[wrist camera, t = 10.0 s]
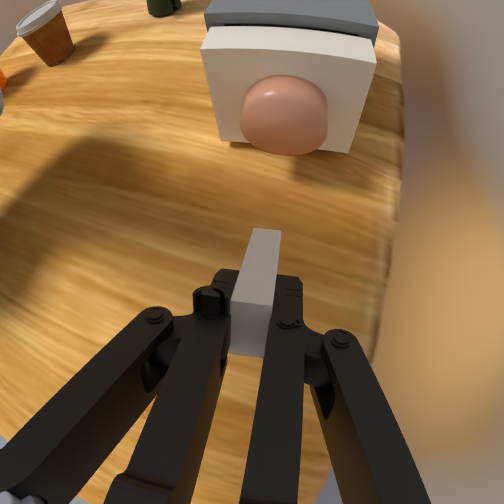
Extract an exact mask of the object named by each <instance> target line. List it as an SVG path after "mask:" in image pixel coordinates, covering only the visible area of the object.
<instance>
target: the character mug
mask: <svg viewBox="0 0 504 504" xmlns="http://www.w3.org/2000/svg"><path fill="white" fill-rule="evenodd" d="M175 5H176V6H177V9H179V8H180V7H181V6H182V5H181V1H180V0H147V6H148V11H149V14H151V15H155V16H161V15H166V14H169V13H172V12H174V10H173V7H174V6H175Z"/></svg>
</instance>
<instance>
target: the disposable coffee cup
mask: <svg viewBox="0 0 504 504" xmlns="http://www.w3.org/2000/svg"><path fill="white" fill-rule="evenodd" d="M61 5H62V4H61V3H59V2H58V1H57V0H51V1H49V2H47V3H45V4H43V5H41V6H39V7H38V8H36V9H35V10H33V11H32V12H31V13H29V14H28V15H27V16H26V17H25V18H23V19H22V20H21V21H20V22H19V24H18V25H17V27H16V29H17V35H18V36H20V37H22V38H23V39H24V40H25V41H26V42H27V44H28V45H29V46H30V47H31V48H32V49H33V50H34V51H35V52H36V53H37V55H38V56H39V57H40V58H41V59H42V60H43V61H44V62H45V63H46V64H47V66H49V67H51V66H55V65H57V64H59V63H60V62H62V61H63V60H65V59H66V58H67V57H68V56H69V55H70V54H71V53H72V52H73V50H74V45H73V42H72V40H71V37H70V34H69V31H68V28H67V25H66V22H65V19H64V16H63V13H62V10H61V8H62V7H61Z"/></svg>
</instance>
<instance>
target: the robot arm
mask: <svg viewBox="0 0 504 504" xmlns="http://www.w3.org/2000/svg"><path fill="white" fill-rule="evenodd" d="M3 108H4V98H3V94H2V90H1V87H0V116H1V114H2V112H3ZM281 233H282V231H280V230H271V229H262V228H254V229H253V232H252V235H251V238H250V241H249V244H248V247H247V250H246V253H245V257H244V260H243V263H242V266H241V269H240V271H238V270H229V269H221V270H220V271H218V272H217V273H216V274H215V276H214V278H213V281H212V283H211V285H210V286H203V287H200V288H198V289H196V290H195V291H194V292H193V308H194V311H193V313H192V314H189V315H184V316H172V313H171V312H170V310H168V309H166V308H164V307H160V306H156V307H150V308H146V309H145V310H143V311H142V312H141V313H140V314H138V315H137V316H136V317H135V318H134V319H133V320H132V321H131V322H130V323H129V324H128V325H127V326H126V327H125V328H123V329H122V330H121V331H120V332H119V333H118V334H117V335H116V336H115V337H114V338H113V339H112V340H111V341H110V342H109V343H108V344H107V345H106V346H104V347H103V348H102V349H101V350H100V351H99V352H98V353H97V354H96V355H95V356H94V357H93V358H92V359H91V360H90V361H89V362H88V363H87V364H86V365H85V366H84V367H83V368H82V369H81V370H80V371H79V372H77V373H76V374H75V375H74V376H73V377H72V378H71V379H70V380H69V381H68V382H67V383H66V384H65V385H64V386H63V387H62V388H61V389H60V390H59V391H58V392H57V393H56V394H55V395H54V396H53V397H52V398H51V399H50V400H49V401H48V402H47V403H46V404H45V405H44V406H43V407H42V408H41V409H40V410H39V411H38V412H37V413H36V414H35V415H34V416H33V417H32V418H31V419H30V420H29V421H28V422H27V423H26V424H25V425H24V426H23V427H22V428H21V429H20V430H19V432H18V433H17V434H16V435H15V436H14V437H13V438H12V439H11V440H10V441H9V442H8V443H7V444H6V445H5V446H4V447H3V448H2V449H0V504H69V503H70V502H71V501H72V499H73V498H74V497H75V496H76V495H77V494H78V493H79V491H80V490H81V489H82V488H83V487H84V485H85V484H86V483H87V482H88V480H89V479H90V478H91V477H92V475H93V474H94V473H95V472H96V471H97V469H98V468H99V467H100V466H101V464H102V463H103V462H104V461H105V459H106V458H107V457H108V456H109V454H110V453H111V452H112V451H113V449H114V448H115V447H116V446H117V444H118V443H119V442H120V441H121V439H122V438H123V437H124V436H125V434H126V433H127V432H128V431H129V429H130V428H131V427H132V426H133V424H134V423H135V422H136V421H137V419H138V418H139V417H140V415H141V414H142V413H143V412H144V410H145V409H146V408H147V407H148V405H149V404H150V403H151V402H152V400H153V399H154V398H155V396H156V395H157V396H156V399H155V401H154V403H153V406H152V408H151V411H150V413H149V415H148V418H147V420H146V423H145V425H144V427H143V430H142V432H141V435H140V437H139V440H138V442H137V445H136V447H135V449H134V452H133V454H132V457H131V459H130V462H129V464H128V467H127V469H126V470H125V471H124V472H123V473H120V474H118V475H117V476H116V477H115V478H114V480H113V482H112V484H111V486H110V488H109V491H108V493H107V496H106V498H105V501H104V503H103V504H190V503H191V499H192V495H193V492H194V488H195V484H196V480H197V477H198V473H199V469H200V465H201V461H202V458H203V454H204V450H205V446H206V442H207V439H208V435H209V431H210V427H211V423H212V419H213V416H214V412H215V408H216V404H217V400H218V396H219V393H220V389H221V385H222V381H223V377H224V373H225V370H226V366H227V354H228V350H229V353H232V354H239V355H246V356H253V357H261V358H264V359H263V366H262V372H261V379H260V385H259V391H258V397H257V404H256V410H255V416H254V422H253V428H252V434H251V440H250V445H249V451H248V457H247V463H246V468H245V474H244V479H243V485H242V490H241V495H240V500H239V504H297V497H298V485H299V471H300V456H301V439H302V418H303V392H304V383H306V384H309V385H310V390H311V394H312V397H313V400H314V404H315V407H316V411H317V414H318V417H319V421H320V424H321V428H322V431H323V435H324V438H325V442H326V445H327V449H328V452H329V456H330V459H331V463H332V466H333V470H334V473H335V477H336V480H337V484H338V487H339V491H340V494H341V498H342V502H343V504H431V502H430V499H429V497H428V494H427V492H426V489H425V487H424V484H423V482H422V479H421V477H420V475H419V472H418V470H417V467H416V465H415V462H414V460H413V458H412V455H411V453H410V451H409V448H408V446H407V444H406V442H405V439H404V437H403V435H402V433H401V430H400V428H399V426H398V424H397V421H396V419H395V417H394V415H393V413H392V410H391V408H390V406H389V404H388V402H387V400H386V397H385V395H384V393H383V391H382V389H381V387H380V385H379V383H378V381H377V378H376V376H375V374H374V372H373V371H372V368H371V366H370V364H369V362H368V360H367V358H366V356H365V354H364V352H363V350H362V348H361V346H360V344H359V342H358V340H357V338H356V337H355V336H354V335H353V334H352V333H350V332H349V331H346V330H342V329H333V330H329V331H328V332H326V333H325V334H324V335H323V334H320V333H317V332H315V331H312V330H311V329H309V328H308V327H307V326H306V325H305V323H304V321H303V298H302V297H303V283H302V282H301V280H300V279H299V277H295V276H286V275H278V274H277V269H278V260H279V251H280V242H281Z"/></svg>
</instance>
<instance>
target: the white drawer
mask: <svg viewBox="0 0 504 504" xmlns="http://www.w3.org/2000/svg"><path fill="white" fill-rule="evenodd" d="M200 52H201V56H202V60H203V65H204V69H205V74H206V78H207V82H208V87H209V91H210V95H211V100H212V104H213V108H214V113H215V117H216V121H217V126H218V130H219V134H220V139H221V141H231V142H247V143H251V144H252V145H254V146H255V147H257V148H259V149H261V150H263V151H266V152H269V153H273V154H277V155H287V156H291V155H301V154H306V153H309V152H312V151H314V150H316V149H320V150H327V151H335V152H342V153H349V150H350V147H351V144H352V141H353V138H354V135H355V132H356V129H357V126H358V123H359V120H360V117H361V114H362V111H363V107H364V104H365V101H366V98H367V95H368V92H369V88H370V85H371V82H372V79H373V75H374V72H375V68H376V65H377V61H376V57H375V53H374V49H373V45H372V41H371V39H366V38H361V37H355V36H350V35H345V32H342V31H335V30H328V29H320V28H312V27H302V26H290V25H275V24H241V25H240V26H222V27H210V29H209V31H208V33H207V35H206V37H205V39H204V41H203V44H202V46H201V48H200Z"/></svg>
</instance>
